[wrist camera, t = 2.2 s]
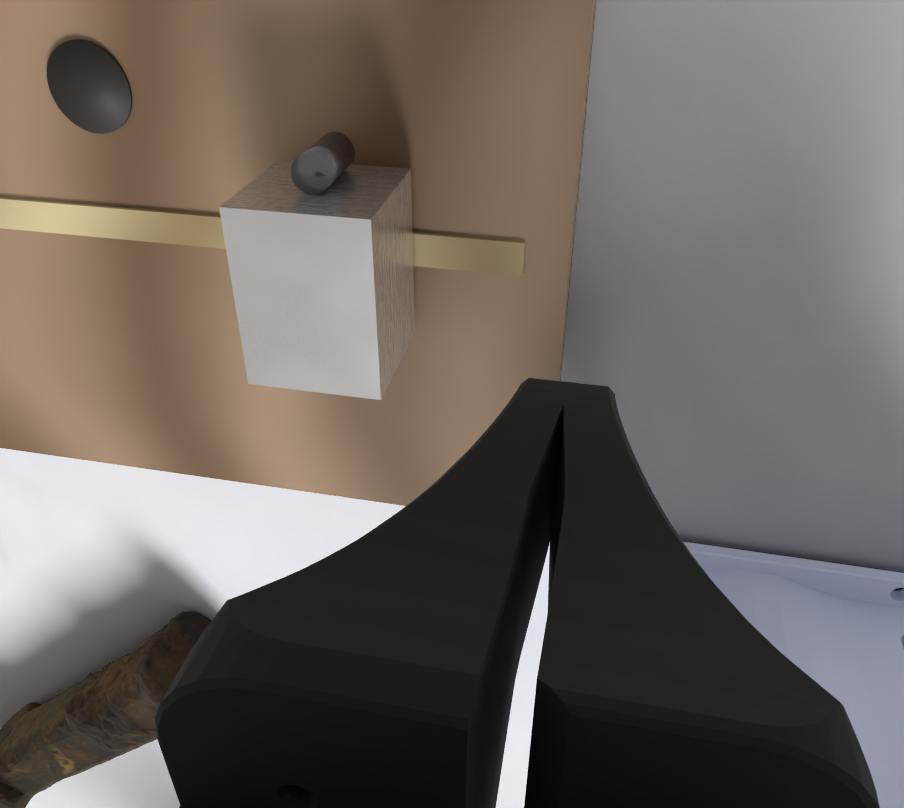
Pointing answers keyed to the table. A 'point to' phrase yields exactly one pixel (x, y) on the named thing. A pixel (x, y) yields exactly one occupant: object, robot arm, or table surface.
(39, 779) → the hand tool
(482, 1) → the wooden board
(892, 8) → the table surface
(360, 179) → the white rectangular block
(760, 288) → the table surface
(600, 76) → the table surface
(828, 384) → the table surface
